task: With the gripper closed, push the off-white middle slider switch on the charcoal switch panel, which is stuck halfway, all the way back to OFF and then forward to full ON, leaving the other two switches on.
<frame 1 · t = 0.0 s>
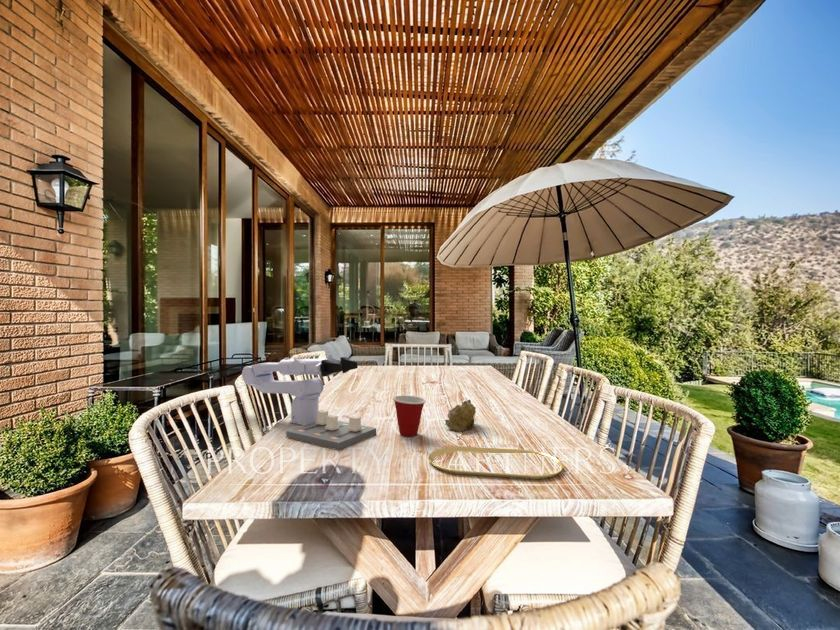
hand: (349, 366, 137), 22 cm above the table, tool horizontal, fingers open, 7 cm apart
left switch: (322, 417, 138), point 4 cm above the table, slide at 6.0 cm
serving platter: (493, 466, 109), on the table
right switch: (355, 423, 131), point 4 cm above the table, slide at 6.0 cm
tripped switch: (332, 422, 132), point 4 cm above the table, slide at 3.0 cm
switch panel: (331, 435, 132), on the table
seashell: (460, 427, 145), on the table
plastic cup: (409, 434, 135), on the table
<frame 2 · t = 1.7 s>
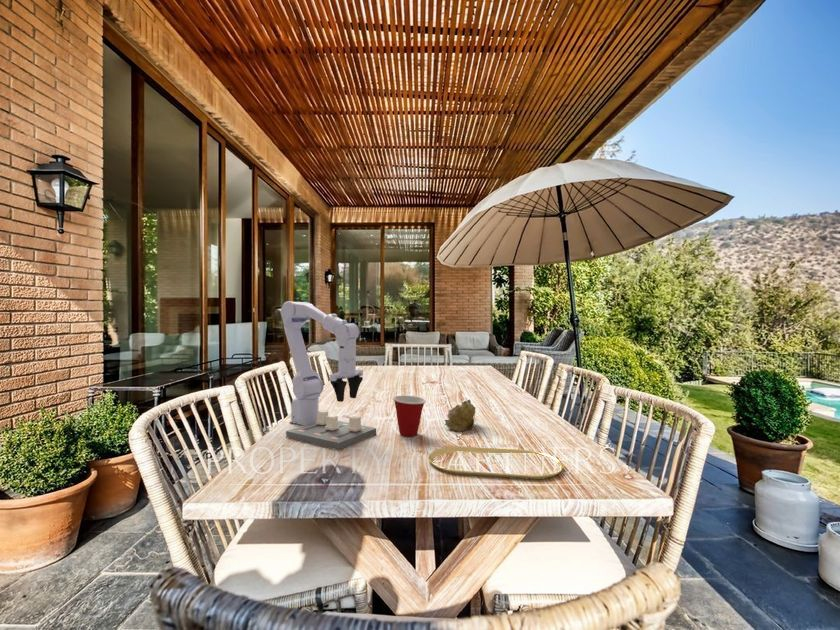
hand: (346, 399, 138), 10 cm above the table, tool pointing down, fingers open, 6 cm apart
nothing on the table moved.
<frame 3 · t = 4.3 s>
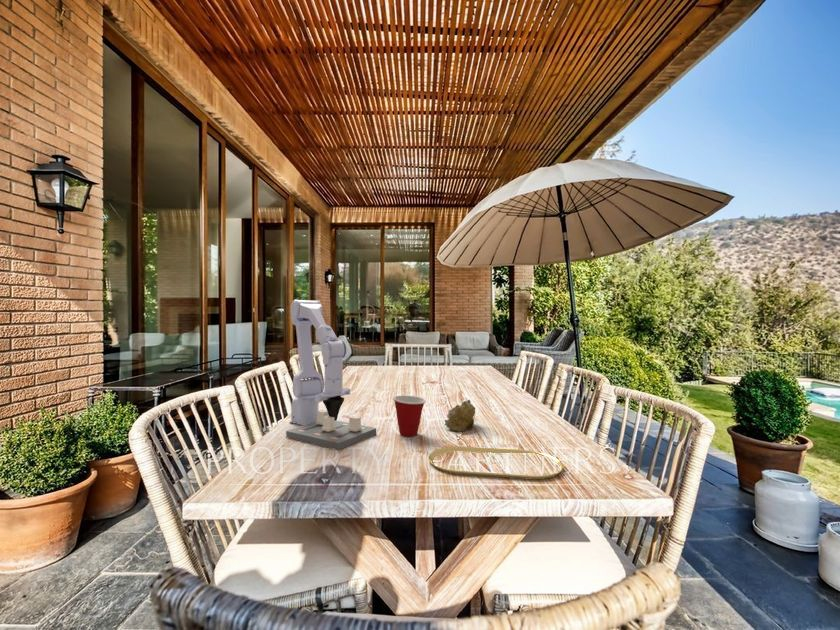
hand: (333, 420, 132), 5 cm above the table, tool pointing down, fingers closed
tripped switch: (328, 423, 131), point 4 cm above the table, slide at 1.4 cm, touching gripper
everything else where it was.
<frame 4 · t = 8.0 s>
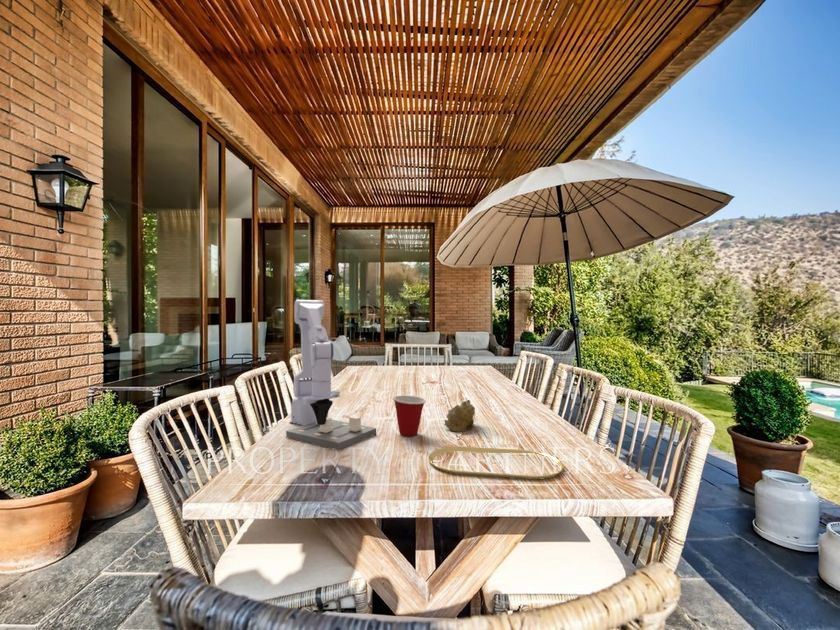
hand: (321, 424, 128), 5 cm above the table, tool pointing down, fingers closed
tripped switch: (325, 424, 130), point 4 cm above the table, slide at 0.2 cm, touching gripper
everything else where it was.
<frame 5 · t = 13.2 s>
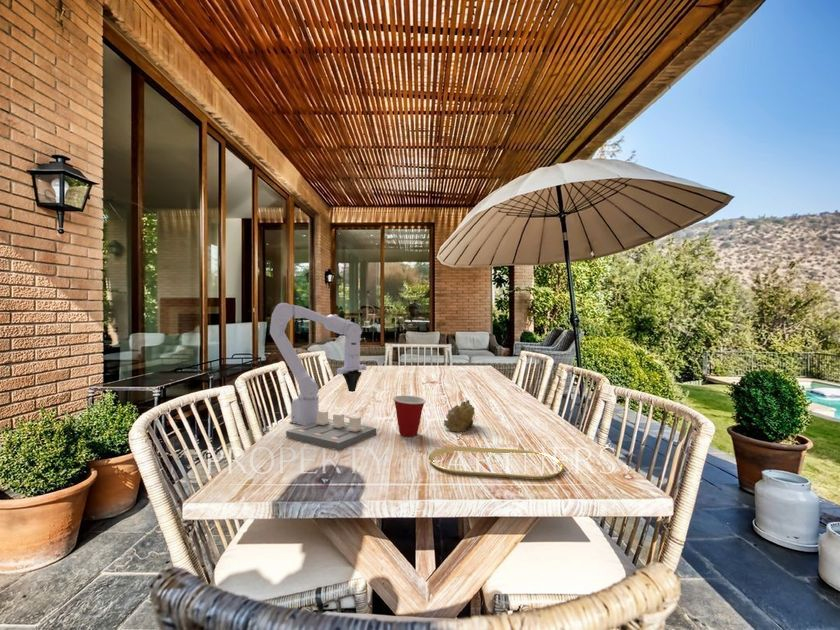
hand: (351, 391, 152), 10 cm above the table, tool pointing down, fingers closed
tripped switch: (338, 420, 135), point 4 cm above the table, slide at 6.1 cm
at the end: tripped switch slide at 6.1 cm; left switch slide at 6.0 cm; right switch slide at 6.0 cm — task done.
